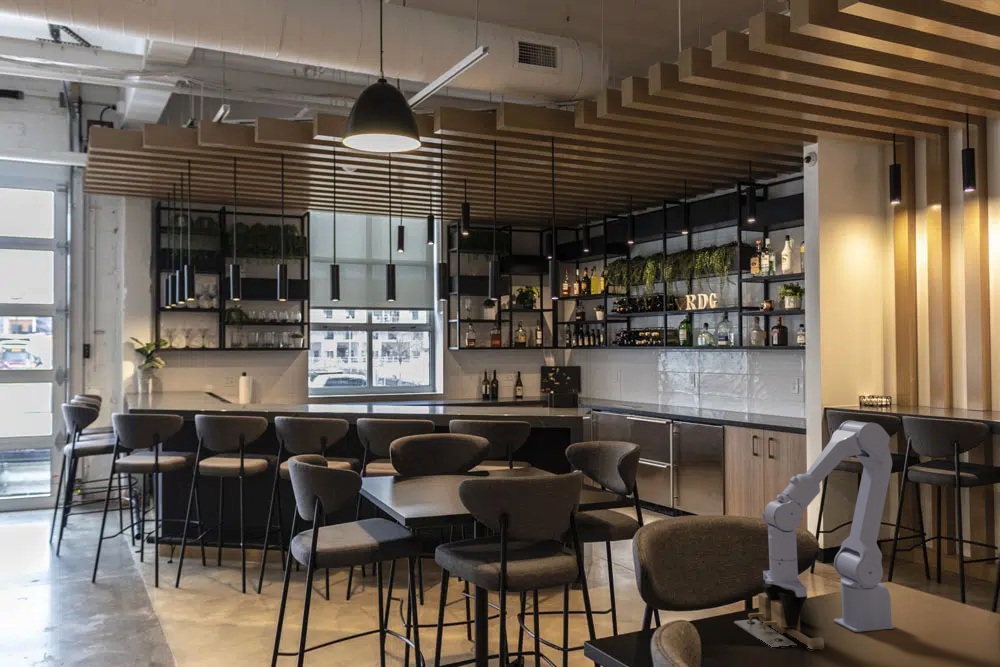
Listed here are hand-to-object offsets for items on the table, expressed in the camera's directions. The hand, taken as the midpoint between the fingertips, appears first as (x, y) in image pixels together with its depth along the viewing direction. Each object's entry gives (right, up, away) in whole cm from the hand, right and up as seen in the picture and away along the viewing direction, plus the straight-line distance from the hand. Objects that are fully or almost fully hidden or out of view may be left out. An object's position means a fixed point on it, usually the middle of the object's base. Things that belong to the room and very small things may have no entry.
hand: (785, 622), depth 177 cm
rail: (0, -2, -1) cm, 2 cm away
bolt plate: (-5, -2, -2) cm, 6 cm away
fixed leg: (-3, -2, +6) cm, 6 cm away
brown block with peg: (-1, -2, 0) cm, 2 cm away
